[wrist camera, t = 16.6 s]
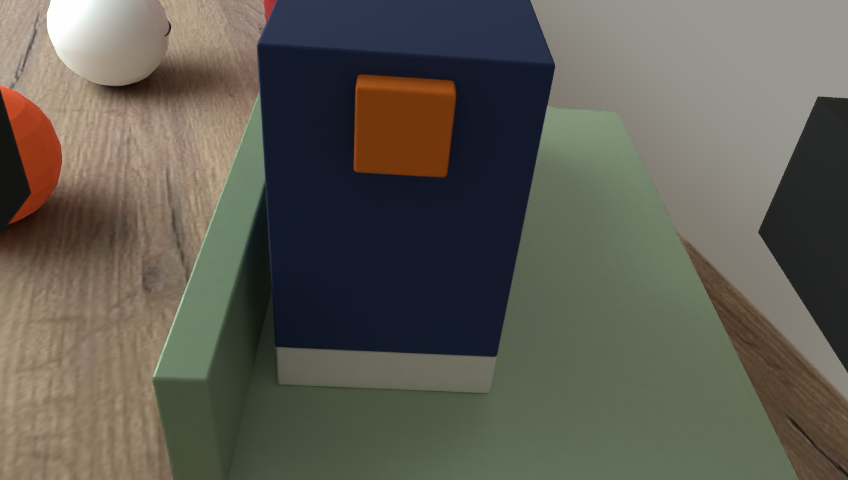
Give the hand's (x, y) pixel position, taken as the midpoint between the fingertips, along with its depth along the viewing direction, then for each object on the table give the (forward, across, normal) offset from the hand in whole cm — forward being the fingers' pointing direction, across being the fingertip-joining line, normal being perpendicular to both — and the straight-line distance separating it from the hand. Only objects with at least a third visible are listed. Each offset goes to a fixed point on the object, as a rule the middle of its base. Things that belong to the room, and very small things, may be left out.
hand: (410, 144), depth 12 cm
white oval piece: (+37, -19, -17) cm, 45 cm away
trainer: (+11, 0, -10) cm, 15 cm away
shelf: (+11, +3, -17) cm, 20 cm away
